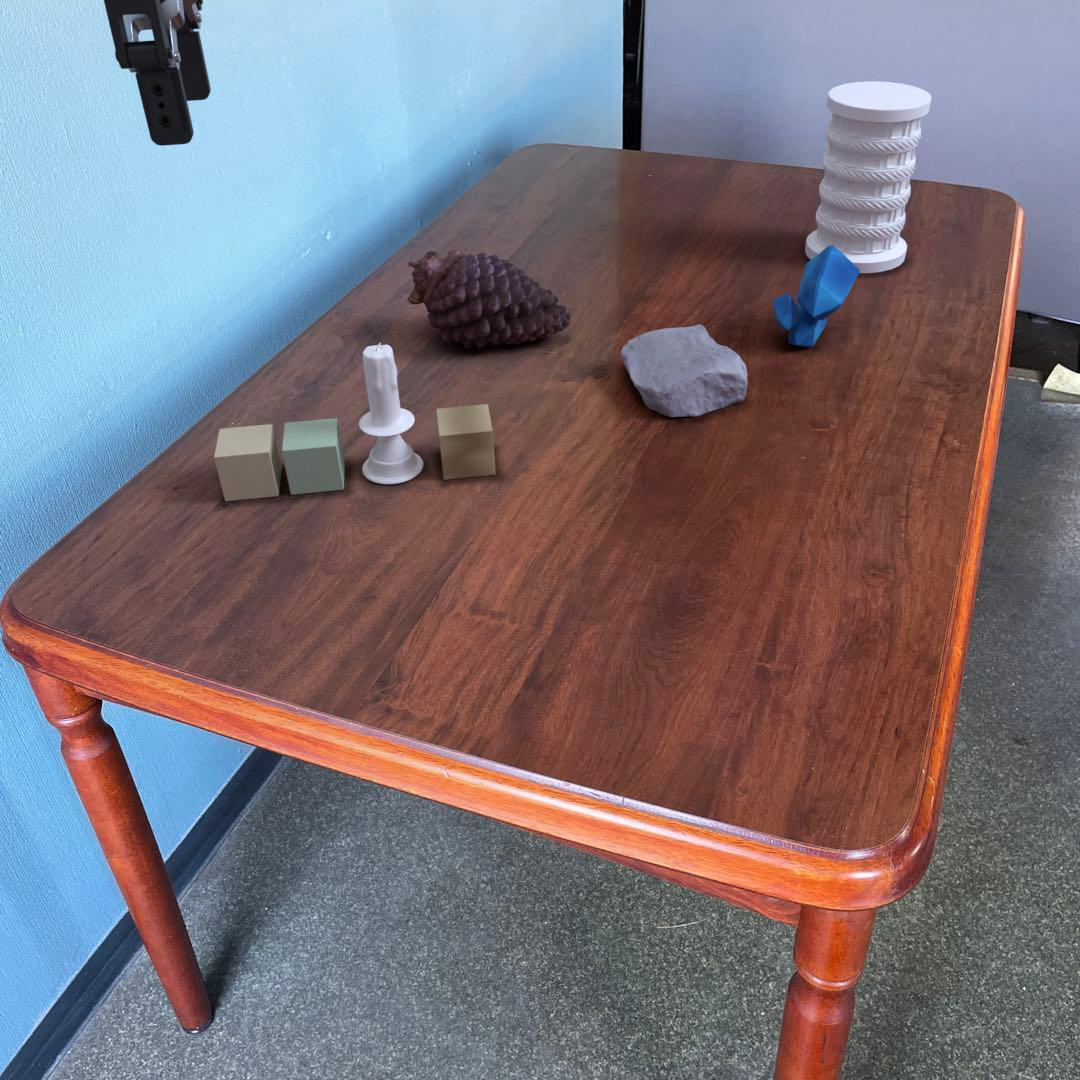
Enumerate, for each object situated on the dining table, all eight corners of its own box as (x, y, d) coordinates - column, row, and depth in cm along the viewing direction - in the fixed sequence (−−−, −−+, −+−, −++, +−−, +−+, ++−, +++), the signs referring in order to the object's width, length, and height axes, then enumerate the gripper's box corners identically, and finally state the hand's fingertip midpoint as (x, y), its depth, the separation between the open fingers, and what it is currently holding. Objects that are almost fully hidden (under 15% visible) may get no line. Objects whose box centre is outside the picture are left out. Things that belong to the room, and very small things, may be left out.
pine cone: (573, 313, 117) (588, 260, 108) (550, 391, 113) (563, 342, 104) (416, 266, 116) (418, 209, 107) (388, 342, 113) (388, 290, 104)
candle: (398, 444, 97) (382, 323, 90) (436, 467, 94) (422, 343, 87) (350, 468, 94) (329, 345, 87) (387, 493, 91) (369, 367, 84)
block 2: (290, 495, 91) (281, 450, 88) (293, 466, 95) (284, 422, 92) (344, 490, 92) (336, 445, 89) (344, 461, 95) (337, 417, 92)
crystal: (764, 293, 104) (795, 222, 111) (761, 361, 111) (790, 291, 117) (841, 304, 101) (869, 231, 108) (833, 374, 108) (860, 301, 115)
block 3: (443, 480, 92) (438, 435, 90) (440, 452, 96) (436, 408, 93) (495, 475, 93) (492, 430, 90) (490, 447, 96) (487, 403, 94)
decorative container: (786, 256, 127) (804, 98, 116) (836, 227, 134) (858, 74, 123) (875, 282, 121) (903, 117, 110) (923, 249, 128) (954, 91, 117)
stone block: (663, 440, 99) (758, 399, 101) (655, 397, 96) (752, 355, 98) (611, 386, 108) (698, 349, 110) (601, 345, 105) (691, 307, 107)
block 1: (225, 501, 91) (213, 457, 88) (230, 472, 94) (219, 428, 92) (278, 496, 91) (269, 451, 88) (282, 467, 95) (272, 423, 92)
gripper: (60, -227, 58) (138, 91, 67) (-13, -214, 46) (93, 165, 56) (203, -232, 58) (259, 83, 68) (165, -221, 47) (239, 154, 57)
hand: (184, 119), depth 62 cm, fingers open, 8 cm apart
